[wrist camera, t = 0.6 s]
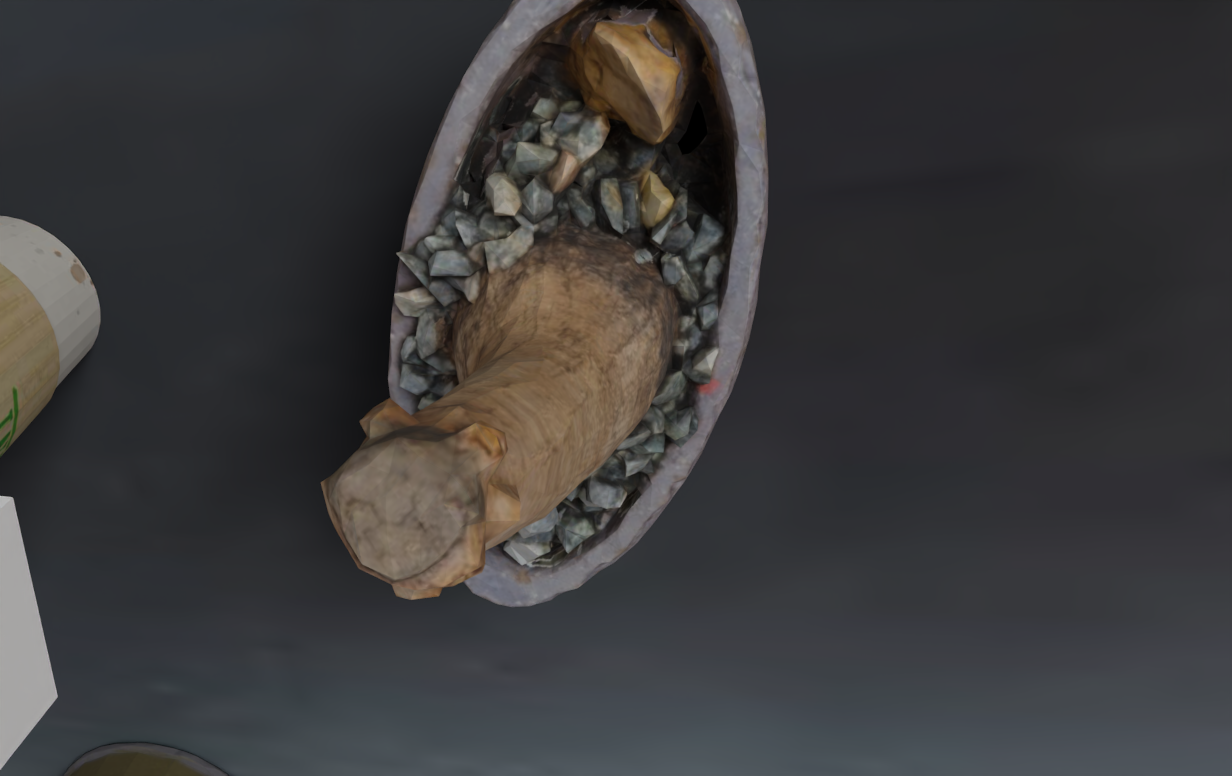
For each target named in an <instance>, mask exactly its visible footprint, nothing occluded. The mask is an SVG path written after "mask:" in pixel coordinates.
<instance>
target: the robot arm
mask: <svg viewBox="0 0 1232 776" xmlns="http://www.w3.org/2000/svg"><path fill="white" fill-rule="evenodd" d="M57 697H58V696H57V691H56V687H55V682H54V678H53V673H52V669H51V664H50V660H49V656H48V651H47V647H46V642H45V638H44V633H43V629H42V625H41V620H40V616H39V611H38V607H37V602H36V598H35V593H34V589H33V585H32V580H31V576H30V571H29V567H28V562H27V558H26V553H25V549H24V545H23V540H22V536H21V531H20V527H19V522H18V518H17V513H16V509H15V505H14V500H13V497H5V496H0V769H1V768H2V767H3V766H4V764H5V763H6V762H7V761H8V759H9V758H10V757H11V755H12V754H13V753H14V752H15V750H16V749H17V748H18V747H19V745H20V744H21V743H22V742H23V740H24V739H25V738H26V736H27V735H28V734H29V733H30V731H31V730H32V729H33V728H34V726H35V725H36V724H37V723H38V721H39V720H40V719H41V717H42V716H43V715H44V714H45V712H46V711H47V710H48V709H49V707H50V706H51V705H52V704H53V702H54V701H55V700H56V699H57Z"/></svg>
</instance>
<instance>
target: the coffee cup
mask: <svg viewBox="0 0 1232 776" xmlns="http://www.w3.org/2000/svg"><path fill="white" fill-rule="evenodd" d="M99 326H100V305H99V301H98V296H97V292H96V289H95V287H94V285H93V283H92V280H91V278H90V276H89V274H88V273H87V271H86V270H85V268H84V267H83V265H82V264H81V262H80V261H79V259H78V258H77V257H76V256H75V255H74V254H73V253H72V252H71V251H70V249H69V248H68V247H67V246H65V245H64V244H63V243H62V242H61V241H59V240H58V239H57V238H56V237H54V236H53V235H51V234H50V233H48V232H46V231H45V230H43V229H41V228H40V227H38V226H36V225H33V224H31V223H28V222H26V221H23V220H20V219H16V218H11V217H7V216H0V457H1V456H2V455H3V454H4V452H5V451H6V450H7V449H8V448H9V447H10V446H11V444H12V443H13V442H14V441H15V440H16V439H17V438H18V437H19V435H20V434H21V433H22V432H23V431H24V430H25V429H26V428H27V426H28V425H29V424H30V423H31V422H32V421H33V420H34V418H35V417H36V416H37V415H38V414H39V413H40V412H41V410H42V409H43V408H44V407H45V406H46V404H47V403H48V402H49V401H50V400H51V397H52V395H53V393H54V391H55V388H56V387H57V386H58V385H59V384H60V383H61V382H62V380H63V379H64V378H65V377H66V376H67V375H68V374H69V373H70V372H71V370H72V369H73V368H74V367H75V366H76V365H77V364H78V363H79V362H80V361H81V359H82V358H83V357H84V356H85V355H86V354H87V352H88V351H89V350H90V349H91V348H92V346H93V344H94V342H95V340H96V338H97V336H98V331H99Z"/></svg>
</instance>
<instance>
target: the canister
mask: <svg viewBox="0 0 1232 776" xmlns="http://www.w3.org/2000/svg"><path fill="white" fill-rule="evenodd" d="M64 776H229V775H227V774H226V773H225V772H223V771H222V770H221V769H219V768H218V767H216V766H214V765H212V764H210V763H208V762H206V761H204V760H203V759H201V758H199V757H197V756H195V755H192V754H190V753H188V752H185V751H181V750H178V749H175V748H170V747H165V746H161V745H156V744H151V743H146V742H145V743H119V744H112V745H107V746H102V747H99V748H97V749H94V750H92V751H90V752H88V753H85V754H84V755H83V756H82V757H80V758H79V759H78V760H77V761H76V762H74V763H73V764H72V765H71V766H70V767H69V769H68V770H67V772H66V773H65V774H64Z"/></svg>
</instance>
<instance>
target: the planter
mask: <svg viewBox="0 0 1232 776" xmlns="http://www.w3.org/2000/svg"><path fill="white" fill-rule="evenodd" d="M767 216H768V157H767V139H766V121H765V108H764V103H763V98H762V93H761V88H760V83H759V78H758V73H757V68H756V63H755V58H754V53H753V48H752V43H751V40H750V37H749V34H748V31H747V28H746V25H745V22H744V19H743V16H742V13H741V10H740V8H739V5H738V3H737V1H736V0H514V1H513V2H512V3H511V5H510V6H509V7H508V9H507V10H506V12H505V13H504V15H503V16H502V17H501V19H500V20H499V21H498V22H497V24H496V25H495V26H494V28H493V29H492V30H491V32H490V33H489V34H488V36H487V37H486V38H485V40H484V42H483V43H482V45H481V47H480V49H479V50H478V52H477V54H476V56H475V57H474V59H473V61H472V63H471V64H470V66H469V68H468V69H467V71H466V73H465V75H464V76H463V78H462V80H461V82H460V84H459V86H458V88H457V90H456V92H455V94H454V96H453V97H452V99H451V101H450V103H449V105H448V107H447V109H446V112H445V114H444V116H443V119H442V121H441V124H440V126H439V129H438V131H437V133H436V136H435V138H434V141H433V143H432V145H431V148H430V150H429V153H428V155H427V158H426V161H425V164H424V167H423V170H422V173H421V176H420V179H419V182H418V185H417V188H416V191H415V195H414V198H413V202H412V205H411V209H410V212H409V215H408V219H407V222H406V226H405V231H404V237H403V242H402V248H401V252H398V253H396V254H397V255H398V256H399V257H400V259H399V264H398V270H397V277H396V284H395V292H394V300H393V308H392V317H391V335H390V352H389V370H388V384H389V391H390V398H389V399H387V400H385V401H384V402H382V403H380V404H379V405H377V406H375V407H374V408H372V409H371V410H370V411H369V412H368V413H367V414H366V415H365V416H364V417H363V418H362V419H361V420H360V421H359V422H360V424H361V426H362V428H363V430H364V432H365V433H366V435H367V437H366V438H365V440H364V441H363V443H362V444H361V446H360V447H359V449H358V450H357V451H356V452H355V453H354V454H353V455H352V456H351V457H350V458H349V459H348V460H347V461H346V462H345V463H344V464H343V465H342V466H341V467H340V468H339V469H338V470H337V471H336V472H335V473H334V474H333V475H331V476H330V477H328V478H327V479H325V480H324V481H322V482H321V486H322V490H323V494H324V498H325V502H326V506H327V510H328V513H329V516H330V518H331V520H332V522H333V525H334V527H335V529H336V531H337V533H338V534H339V536H340V538H341V539H342V541H343V543H344V544H345V546H346V548H347V549H348V551H349V553H350V554H351V556H352V558H353V559H354V561H355V563H356V564H357V566H358V568H359V569H361V570H363V571H365V572H367V573H369V574H371V575H373V576H375V577H377V578H379V579H381V580H383V581H385V582H388V583H390V584H392V587H393V589H394V592H395V594H396V596H398V597H402V598H406V599H410V600H413V599H421V598H428V597H436V596H439V595H440V592H441V590H442V588H443V587H451V586H454V585H456V584H458V583H461V582H464V583H465V584H466V586H467V587H468V588H469V589H470V590H471V592H472V593H474V594H476V595H478V596H480V597H483V598H485V599H487V600H490V601H492V602H494V603H496V604H500V605H505V606H510V607H521V606H531V605H535V604H539V603H542V602H546V601H549V600H552V599H553V598H555V597H556V596H557V595H559V594H561V593H564V592H566V591H569V590H572V589H576V588H579V587H580V586H581V585H582V584H584V583H585V582H586V581H587V580H589V579H590V578H591V577H593V576H594V575H595V574H596V573H598V572H599V571H600V570H602V569H604V568H606V567H607V566H609V565H611V564H613V563H614V562H615V561H616V560H618V559H619V558H620V557H621V556H622V555H623V554H625V553H626V552H627V551H628V550H629V549H630V548H632V547H633V546H634V545H635V544H636V543H637V542H638V541H639V540H640V539H641V537H642V536H643V535H644V534H645V533H646V532H647V530H648V529H649V528H650V527H651V526H652V524H653V523H654V522H655V520H656V519H657V518H658V517H659V515H660V514H661V513H662V511H663V510H664V509H665V507H666V506H667V505H668V503H669V502H670V501H671V499H672V498H673V496H674V495H675V494H676V492H677V491H678V490H679V488H680V487H681V485H682V484H683V483H684V481H685V480H686V478H687V477H688V475H689V473H690V472H691V470H692V468H693V467H694V465H695V464H696V462H697V460H698V459H699V457H700V455H701V454H702V451H703V449H704V447H705V445H706V443H707V440H708V438H709V436H710V434H711V432H712V430H713V427H714V425H715V423H716V421H717V419H718V417H719V415H720V413H721V411H722V409H723V407H724V405H725V403H726V402H727V400H728V398H729V396H730V394H731V391H732V388H733V386H734V383H735V380H736V378H737V375H738V372H739V370H740V367H741V363H742V360H743V357H744V353H745V350H746V347H747V343H748V340H749V337H750V332H751V327H752V323H753V318H754V314H755V309H756V305H757V296H758V285H759V274H760V264H761V258H762V252H763V247H764V241H765V235H766V230H767Z"/></svg>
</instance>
